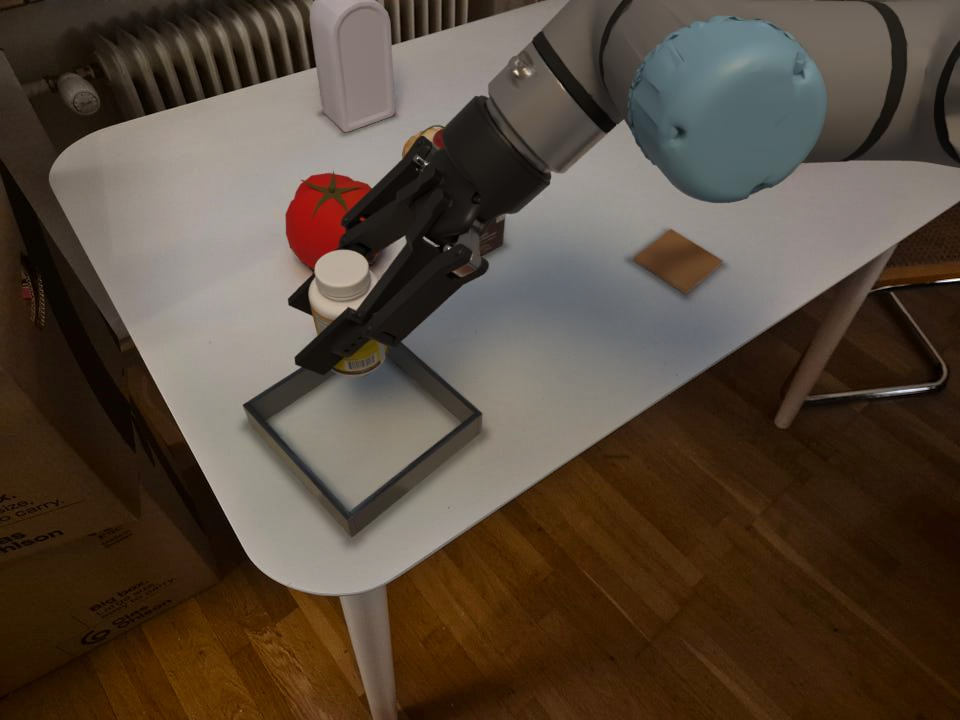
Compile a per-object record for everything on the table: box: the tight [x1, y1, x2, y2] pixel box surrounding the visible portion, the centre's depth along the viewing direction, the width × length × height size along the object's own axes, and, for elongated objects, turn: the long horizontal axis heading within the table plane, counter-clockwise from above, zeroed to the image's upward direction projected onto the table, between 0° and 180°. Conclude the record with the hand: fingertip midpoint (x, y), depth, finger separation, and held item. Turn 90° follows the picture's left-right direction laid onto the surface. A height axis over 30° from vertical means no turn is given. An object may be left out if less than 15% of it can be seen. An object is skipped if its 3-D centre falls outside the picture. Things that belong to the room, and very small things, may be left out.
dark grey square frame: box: [242, 341, 484, 538], centre depth 65 cm, size 16×16×4 cm
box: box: [479, 214, 506, 257], centre depth 81 cm, size 6×6×7 cm
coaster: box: [632, 228, 724, 295], centre depth 84 cm, size 8×8×1 cm
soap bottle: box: [309, 0, 396, 133], centre depth 91 cm, size 9×7×23 cm
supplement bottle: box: [309, 250, 388, 378], centre depth 53 cm, size 6×6×10 cm
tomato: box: [285, 170, 381, 270], centre depth 77 cm, size 12×12×11 cm
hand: (305, 336), depth 53 cm, fingers closed on supplement bottle, 6 cm apart
